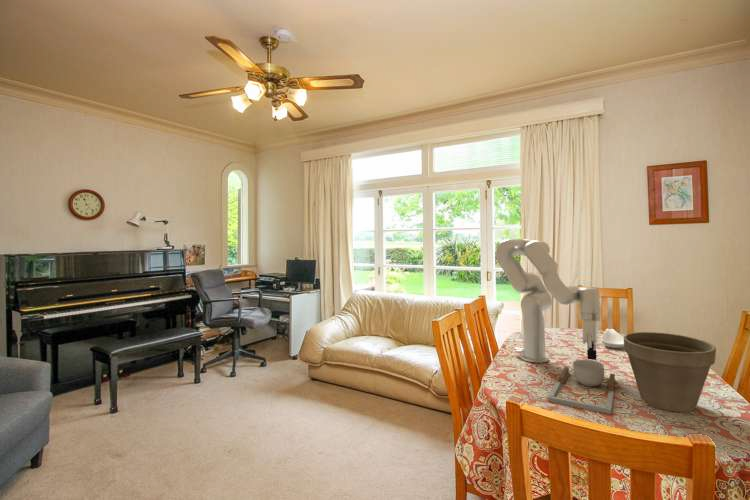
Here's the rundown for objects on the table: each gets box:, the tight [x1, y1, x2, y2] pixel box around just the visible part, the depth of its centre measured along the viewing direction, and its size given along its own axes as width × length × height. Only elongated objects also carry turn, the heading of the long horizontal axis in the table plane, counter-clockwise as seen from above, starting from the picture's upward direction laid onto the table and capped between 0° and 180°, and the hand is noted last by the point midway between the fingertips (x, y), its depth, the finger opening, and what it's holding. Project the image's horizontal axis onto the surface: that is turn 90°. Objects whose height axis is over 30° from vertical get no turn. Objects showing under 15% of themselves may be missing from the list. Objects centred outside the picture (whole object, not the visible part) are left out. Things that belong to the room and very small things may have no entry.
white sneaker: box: [600, 328, 624, 349], centre depth 199 cm, size 24×12×7 cm, turn 157°
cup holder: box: [558, 366, 616, 393], centre depth 148 cm, size 18×15×2 cm
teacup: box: [572, 358, 605, 387], centre depth 148 cm, size 14×11×8 cm
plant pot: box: [623, 331, 717, 413], centre depth 127 cm, size 25×25×22 cm
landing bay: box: [547, 381, 615, 415], centre depth 133 cm, size 19×17×2 cm
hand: (592, 359), depth 159 cm, fingers closed
